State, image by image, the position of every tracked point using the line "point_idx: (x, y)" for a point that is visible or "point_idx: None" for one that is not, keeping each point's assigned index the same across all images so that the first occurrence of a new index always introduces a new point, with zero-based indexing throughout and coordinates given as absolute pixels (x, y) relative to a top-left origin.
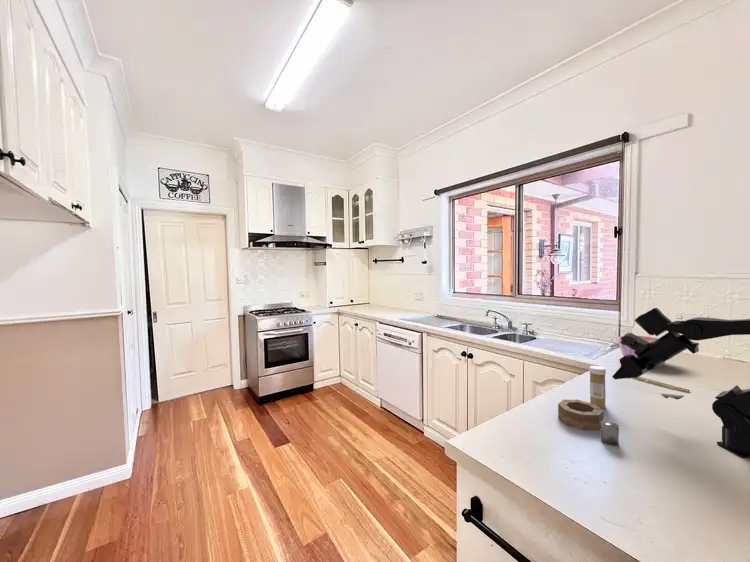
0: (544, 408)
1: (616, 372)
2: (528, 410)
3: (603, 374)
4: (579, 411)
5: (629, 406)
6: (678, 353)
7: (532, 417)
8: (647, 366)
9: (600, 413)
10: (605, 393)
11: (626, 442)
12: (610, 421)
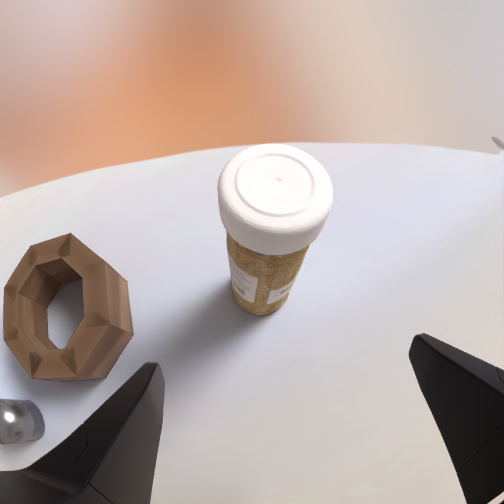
0: (91, 207)
1: (105, 406)
2: (54, 197)
3: (258, 253)
4: (15, 320)
5: (367, 352)
6: None
7: (24, 229)
8: (483, 484)
9: (45, 377)
10: (278, 296)
11: None
12: (7, 421)
